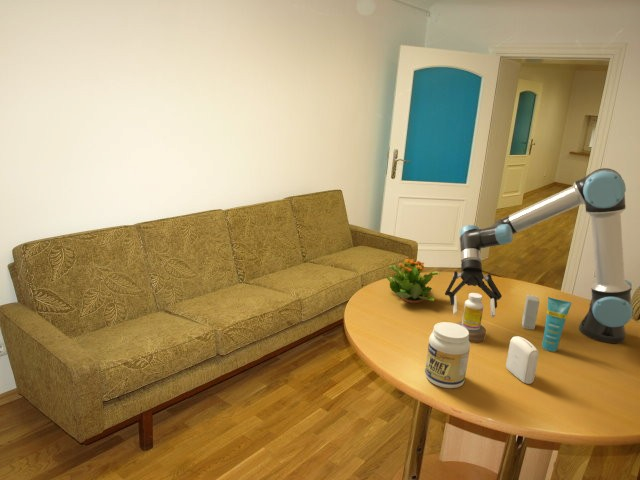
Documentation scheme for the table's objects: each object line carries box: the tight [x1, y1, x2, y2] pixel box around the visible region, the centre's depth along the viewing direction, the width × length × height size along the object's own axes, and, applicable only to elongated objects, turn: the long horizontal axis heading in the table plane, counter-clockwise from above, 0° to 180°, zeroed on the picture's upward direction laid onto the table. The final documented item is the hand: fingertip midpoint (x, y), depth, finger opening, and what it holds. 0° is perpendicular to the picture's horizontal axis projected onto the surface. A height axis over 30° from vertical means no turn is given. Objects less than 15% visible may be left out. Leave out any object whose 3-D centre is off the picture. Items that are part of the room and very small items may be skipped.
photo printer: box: [505, 335, 540, 385], centre depth 146 cm, size 10×4×12 cm, turn 15°
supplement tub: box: [424, 321, 471, 389], centre depth 142 cm, size 12×12×17 cm
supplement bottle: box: [461, 292, 484, 330], centre depth 171 cm, size 7×7×13 cm
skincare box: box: [521, 294, 540, 331], centre depth 182 cm, size 6×4×12 cm
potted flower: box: [384, 258, 441, 304], centre depth 201 cm, size 25×24×18 cm
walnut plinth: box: [455, 320, 487, 343], centre depth 173 cm, size 11×11×3 cm
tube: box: [541, 296, 573, 353], centre depth 163 cm, size 7×5×19 cm, turn 60°
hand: (474, 314), depth 169 cm, fingers open, 13 cm apart
